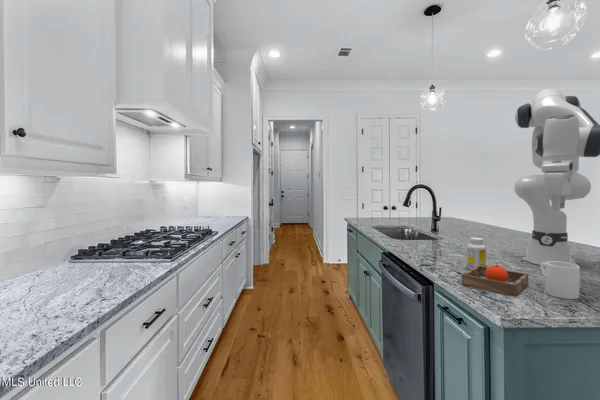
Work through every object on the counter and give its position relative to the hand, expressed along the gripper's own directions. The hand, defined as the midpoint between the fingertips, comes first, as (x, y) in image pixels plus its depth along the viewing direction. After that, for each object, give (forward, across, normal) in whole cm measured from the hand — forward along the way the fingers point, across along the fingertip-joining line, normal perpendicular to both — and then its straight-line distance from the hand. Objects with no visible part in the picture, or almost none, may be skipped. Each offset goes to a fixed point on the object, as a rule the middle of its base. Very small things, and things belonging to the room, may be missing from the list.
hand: (558, 209), depth 96 cm
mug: (+27, 0, 0) cm, 27 cm away
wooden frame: (+27, +5, -16) cm, 32 cm away
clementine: (+27, +5, -16) cm, 32 cm away
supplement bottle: (+27, -11, -27) cm, 40 cm away
